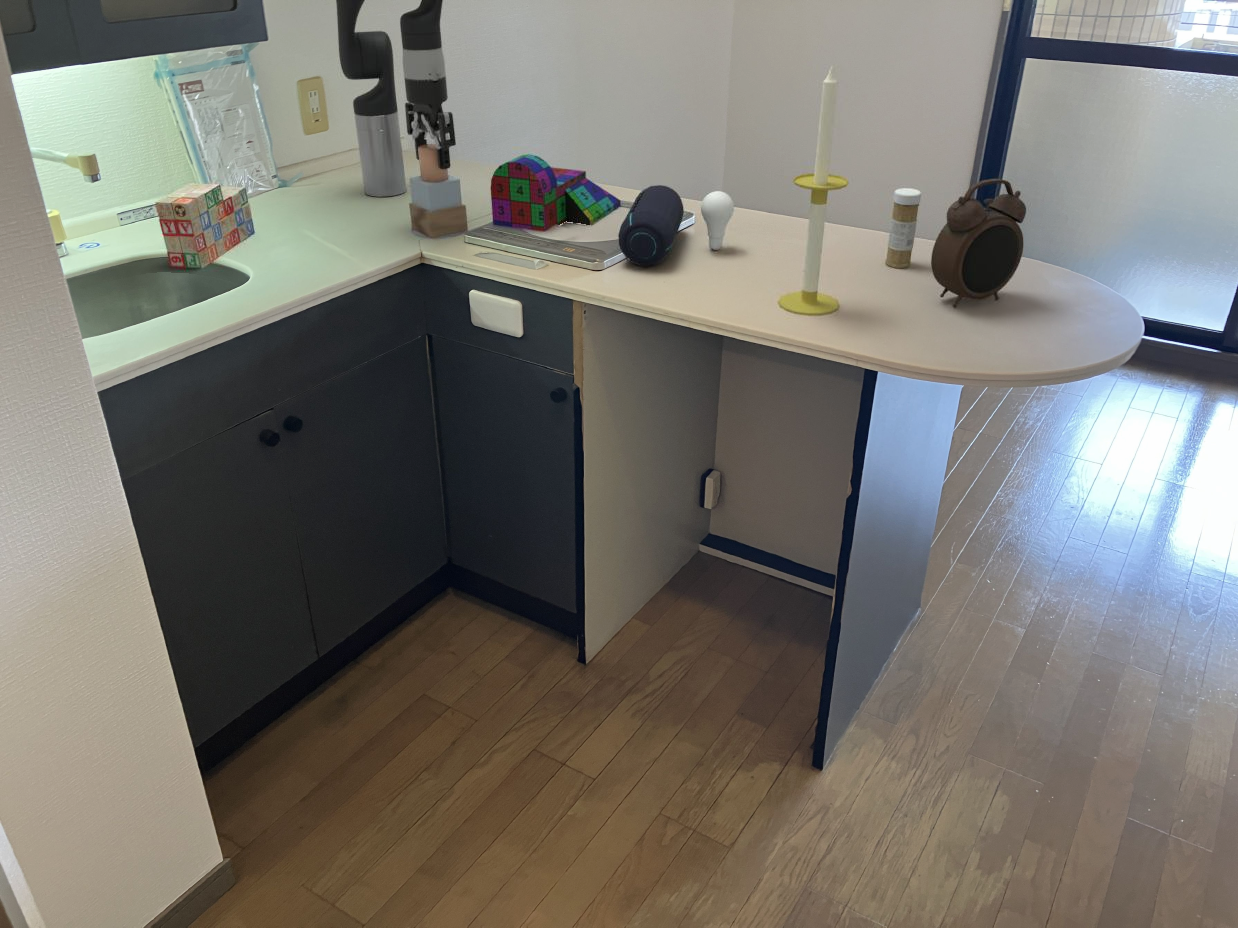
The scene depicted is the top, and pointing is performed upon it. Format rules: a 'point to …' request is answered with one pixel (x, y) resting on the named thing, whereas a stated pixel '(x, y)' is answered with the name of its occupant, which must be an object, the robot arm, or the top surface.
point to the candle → (817, 212)
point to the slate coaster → (437, 237)
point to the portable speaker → (651, 225)
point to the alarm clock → (979, 244)
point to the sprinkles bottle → (903, 227)
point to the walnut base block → (439, 220)
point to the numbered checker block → (545, 195)
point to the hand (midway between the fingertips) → (433, 164)
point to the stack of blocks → (203, 223)
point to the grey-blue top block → (435, 193)
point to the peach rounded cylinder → (430, 164)
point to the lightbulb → (717, 216)
